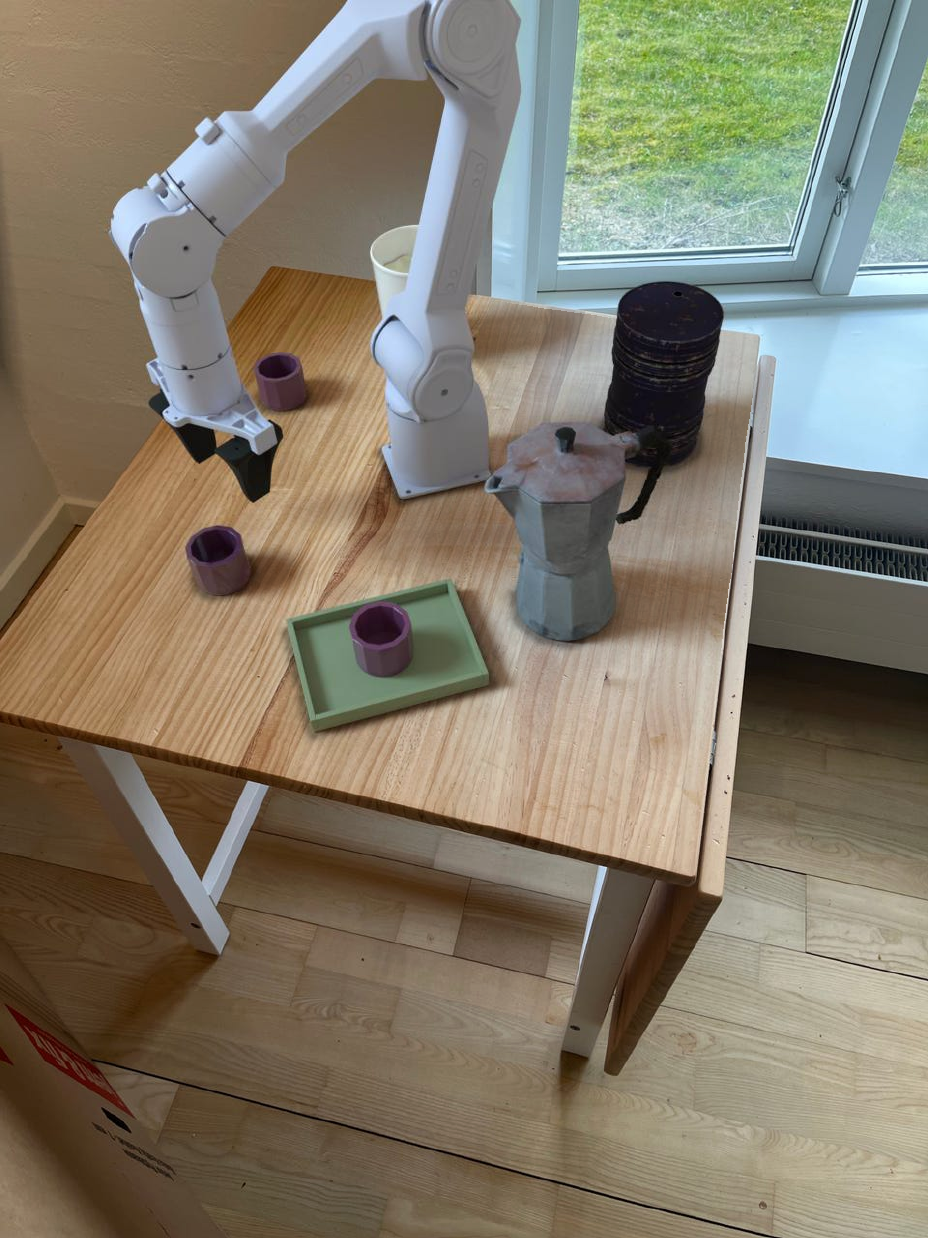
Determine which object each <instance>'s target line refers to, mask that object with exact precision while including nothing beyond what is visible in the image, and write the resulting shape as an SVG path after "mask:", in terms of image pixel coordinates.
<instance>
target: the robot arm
mask: <svg viewBox="0 0 928 1238" xmlns="http://www.w3.org/2000/svg"><path fill="white" fill-rule="evenodd" d="M521 24H522V18H521V17H520V15H519V13H518V11H516V8H515V7H514V5H513V3H512V2H511V0H347V1H346V2H345V4H344V5H343V7H342V8H341V9H340V10H339V11H338V12H337V14H336V15H335V16H334V17H333V18H332V20H331V21H330V22H329V23H328V24H327V25H326V26H325V28H323V30H322V31H321V32H320V33H319V34H318V35H317V37H316V38H315V39H314V40H313V41H312V42H311V43H310V44H309V45H308V46H307V48H305V50H304V51H302V54H301V55H299V57H298V58H296V60H295V61H294V63H293V64H292V65H291V66H290V67H289V68H288V69H287V70H286V71H285V73H284V74H283V75H282V76H281V77H280V79H279V80H278V81H277V82H276V83H275V84H274V85H273V86H272V87H271V89H270V90H269V91H268V92H267V93H266V94H265V95H264V96H263V98H261V100H260V101H259V102H258V103H257V104H256V105H255V106H254V108H253V109H252V110H244V111H243V110H225V111H223V112H222V113H221V114H220V115H219V116H218V117H217V118H216V119H215V120H214V121H213V120H212V119H211V118H210V117H205V118H204V119H203V120H202V121H201V122H200V123H199V124H198V125H197V126H196V127H195V129H194V131H195V133H196V135H198V137H197V138H196V139H195V140H194V141H193V142H192V143H191V144H190V145H189V146H188V147H187V148H186V149H185V150H184V151H183V152H182V153H181V154H180V155H179V156H178V157H177V158H176V159H175V160H174V161H173V162H172V163H171V164H170V165H169V166H168V167H167V168H166V170H164V171H163V172H162V173H161V174H159V173H157V172H155V173H154V174H153V175H152V176H151V177H150V178H148V180H147V181H146V184H147V185H144V186H143V188H139V187H136V188H134V189H132V190H130V191H128V192H127V193H126V194H124V195H123V196H122V197H120V199H119V200H118V201H117V203H116V205H115V207H114V208H113V211H112V214H113V217H111V218H110V230H109V231H108V235H109V238H110V239H111V241H112V243H113V245H114V246H115V247H116V248H117V250H118V251H119V252H120V253H121V254H122V256H123V258H124V260H125V261H126V263H127V265H128V266H129V268H130V271H131V272H130V273H131V274H132V277H133V281H134V284H133V286H134V290H135V293H136V294H137V297H138V298H139V307H140V310H141V314H142V317H143V319H144V322H145V325H146V327H147V331H148V334H149V337H150V339H151V340H150V341H151V343H152V346H153V348H154V351H155V355H156V358H154V359H152V360H151V361H149V362H147V363H145V367H146V369H147V371H148V374H149V378H150V380H151V383H153V384H154V385H155V386H157V387H160V388H159V392H158V393H156V394H154V395H153V396H152V397H151V398H149V400H148V402H147V403H148V406H149V408H150V409H151V410H153V412H155V414H157V415H159V417H161V419H163V420H164V422H165V423H166V424H167V425H168V426H169V427H170V428H171V430H172V431H173V432H174V434H175V435H176V436H177V438H178V439H179V441H180V442H181V444H182V445H183V446H184V448H185V450H186V452H187V453H188V454H189V456H190V457H191V458H192V460H193V461H194V462H195V463H197V464H198V465H201V464H202V463H204V462H205V461H207V460H208V459H210V458H212V457H213V456H215V455H217V456H218V457H219V458H220V459H222V460H223V461H224V462H225V464H226V465H227V466H228V467H229V469H230V470H231V471H232V472H233V474H234V477H235V478H236V480H237V482H238V485H239V488H240V489H241V491H242V493H243V495H244V496H245V498H246V499H247V500H248V501H249V502H251V503H252V504H254V503H256V502H258V501H260V499H262V498H263V497H265V496H266V495H268V494H269V493H270V492H271V485H272V484H271V483H272V472H273V471H272V470H273V464H274V460H275V456H276V454H277V450H278V448H279V446H280V444H281V442H282V440H283V439H284V433H283V432H284V431H283V428H282V426H280V425H279V424H278V423H276V422H274V421H273V420H272V419H270V418H269V419H266V418H265V417H264V415H263V413H262V412H261V411H260V409H259V407H258V406H257V404H256V403H255V401H254V399H253V397H252V396H251V394H250V392H249V390H248V389H247V387H246V385H245V384H244V383H243V381H242V379H240V375H239V372H238V368H237V364H236V360H235V355H234V352H233V348H232V345H231V341H230V337H229V333H228V330H227V326H226V322H225V319H224V315H223V311H222V307H221V304H220V300H219V295H218V292H217V289H216V288H215V285H214V283H213V282H212V281H213V280H212V276H213V273H214V271H215V268H216V264H217V255H218V251H219V250H220V249H221V248H222V247H223V246H224V243H223V242H224V241H225V240H226V239H227V237H229V236H230V235H231V234H232V233H233V232H234V231H236V229H237V228H238V227H239V226H240V225H241V224H243V223H244V221H245V220H246V219H248V217H250V215H252V214H253V213H254V211H256V210H257V209H258V207H260V206H262V204H263V203H264V202H265V201H266V200H267V199H268V198H269V197H270V196H271V195H272V194H273V193H274V192H275V191H276V190H277V189H278V188H279V187H280V186H281V185H283V183H284V182H285V179H286V167H287V158H288V153H290V152H291V151H292V150H293V149H294V148H295V147H297V145H299V144H300V143H302V141H303V140H304V139H305V138H307V137H308V136H309V135H311V134H312V132H314V131H315V130H316V129H317V128H319V127H320V126H321V125H322V124H323V123H324V122H325V121H327V120H328V119H329V118H330V117H331V116H333V115H334V114H335V113H336V112H337V111H338V110H339V109H341V108H342V107H343V106H344V105H345V104H346V103H348V102H349V101H350V100H351V99H352V98H354V97H355V96H356V95H357V94H358V93H359V92H360V91H362V90H363V89H364V88H365V87H366V86H368V84H370V83H371V82H373V81H374V80H377V79H385V80H400V81H401V80H402V81H415V82H425V81H427V80H428V74H429V75H430V76H431V79H432V80H433V81H434V83H435V85H436V87H437V88H438V89H439V91H440V92H441V94H442V96H443V98H444V107H443V111H442V115H441V119H440V120H441V121H440V123H439V124H440V125H439V129H438V134H437V139H436V143H435V147H434V148H435V149H434V153H433V157H432V161H431V166H430V172H429V176H428V180H427V185H426V190H425V194H424V199H423V204H422V208H421V214H420V218H419V223H418V225H419V227H418V231H417V236H416V241H415V245H414V250H413V255H412V259H411V264H410V269H409V273H408V278H407V283H406V287H405V291H403V292H401V293H399V294H396V295H394V296H392V297H390V298H389V300H388V304H387V309H386V312H385V315H384V317H383V319H382V318H381V320H380V322H379V323H378V324H377V326H376V327H375V329H374V331H373V332H372V334H371V335H372V336H371V338H370V342H369V346H370V347H369V348H370V349H369V351H370V355H371V358H372V359H373V361H374V363H375V364H376V365H377V366H379V367H380V368H381V369H382V370H383V371H384V375H385V387H384V398H385V407H386V416H387V425H388V435H389V442H390V443H389V444H385V445H383V446H381V453H382V455H383V458H384V461H385V463H386V466H387V468H388V471H389V473H390V476H391V479H392V481H393V484H394V487H395V489H396V493H397V494H398V497H399V498H400V499H401V500H406V499H412V498H416V497H419V496H424V495H428V494H433V493H438V492H442V491H446V490H451V489H454V488H458V487H463V486H467V485H473V484H476V483H480V482H486V481H487V480H488V479H489V478H490V477H491V476H492V472H491V471H490V453H489V452H490V449H489V448H490V446H489V445H490V442H489V441H490V440H489V439H490V436H489V433H490V432H489V417H488V411H487V410H488V409H487V406H486V402H485V397H484V395H483V392H482V390H481V387H480V385H479V383H478V382H477V381H476V380H475V379H474V373H473V367H472V362H473V356H474V352H475V343H474V339H473V335H472V332H471V328H470V324H469V321H468V317H467V314H466V307H467V303H468V299H469V297H470V292H471V288H472V284H473V281H474V278H475V277H474V276H475V272H476V270H477V265H478V262H479V258H480V253H481V250H482V247H483V243H484V239H485V235H486V231H487V227H488V223H489V221H490V220H489V219H490V215H491V212H492V208H493V205H494V201H495V197H496V193H497V189H498V185H499V181H500V178H501V174H502V170H503V166H504V162H505V159H506V155H507V151H508V149H509V148H508V147H509V144H510V139H511V135H512V132H513V128H514V124H515V121H516V117H517V113H518V110H519V106H520V101H521V96H522V95H521V94H522V83H521V76H520V66H519V60H518V59H519V58H518V52H517V40H518V36H519V32H520V29H521ZM427 72H428V74H427ZM215 431H219V432H222V433H225V434H229V435H232V436H233V437H232V438H230V439H228V440H226V441H225V442H224V443H222V444H220V445H219V446H218V445H217V439H216V432H215Z"/></svg>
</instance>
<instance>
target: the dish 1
mask: <svg viewBox="0 0 928 1238" xmlns="http://www.w3.org/2000/svg"><path fill="white" fill-rule="evenodd" d="M184 548H185V549H184V550H185V554H186V555H185V556H186V558H187V559H186V560H187V562H188V564H189V567H190V569H191V573H192V576H193V578H194V580H195V583H196V585H198V587H199V588H200V589H201V591H203V592H204V593H206V594H209V595H211V596H226V595H230V594H233V593H235V592H237V591H239V590H240V589H242V588H244V587H245V585H246V584H247V583H248V581H249V580H250V577H251V573H252V570H251V565H250V560H249V557H248V554H247V550H246V548H245V545H244V541H243V538H242V534H241V533H240V532H238V531H237V530H235V529H234V528H233V527H231V526H226V525H220V524H219V525H217V524H216V525H212V526H207V527H203V528H202V529H200V530H198V531H197V532H195V533H193V534H192V535H191V536H190V538H189V539H188V541H187V543H186V545H185V547H184Z"/></svg>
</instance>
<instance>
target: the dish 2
mask: <svg viewBox="0 0 928 1238" xmlns="http://www.w3.org/2000/svg"><path fill="white" fill-rule="evenodd" d="M349 631H350V636H351V641H352V646H353V651H354V655H355V659H356V662H357V665H358V666H359V668H360V669H361V670H362V671H364V672H365V673H367V674H369V675H371V676H374V677H390V676H394V675H397V674H399V673H400V672H402V671H403V670H405V669H406V668H407V667H408V665H409V664H410V663H411V661H412V658H413V650H414V644H413V635H412V626H411V621H410V619H409V616H408V613H407V611H405V610H404V609H403V608H401V607H400V606H398V605H397V604H395V603H389V602H383V601H379V602H375V603H371V604H367V605H364V606H363V607H362V608H361V609H359V610H358V611H357V612H356V613H354V614H353V617H352V619H351V622H350V625H349Z"/></svg>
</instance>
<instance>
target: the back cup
mask: <svg viewBox="0 0 928 1238" xmlns="http://www.w3.org/2000/svg"><path fill="white" fill-rule="evenodd" d="M253 372H254V377H255V380H256V381H255V382H256V385H257V389H258V393H259V397H260V401H261V403H262V405H263V406H264V407H265V408H266V409H268V410H271V411H274V412H287V411H292V410H294V409H297V408H298V407H300V406H302V405H303V403H304V402H305V401H306V399H307V395H308V391H307V385H306V380H305V374H304V370H303V365H302V362H301V359H300V357H298V356H296V355H295V354H293V353H290V352H283V351H278V352H273V353H268V354H266V355H264V356H262V357H260V358H259V359H258V360H257V361H255V364H254V366H253Z"/></svg>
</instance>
